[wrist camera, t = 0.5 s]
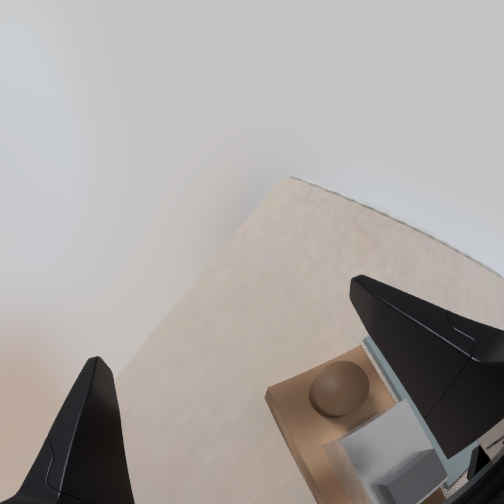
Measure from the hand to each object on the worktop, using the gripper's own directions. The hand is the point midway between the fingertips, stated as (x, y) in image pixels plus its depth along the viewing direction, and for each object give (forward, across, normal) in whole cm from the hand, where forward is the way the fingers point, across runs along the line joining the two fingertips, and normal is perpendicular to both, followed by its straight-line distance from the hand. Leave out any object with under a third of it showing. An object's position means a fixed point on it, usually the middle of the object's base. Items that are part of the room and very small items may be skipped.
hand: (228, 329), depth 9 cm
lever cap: (-4, -6, +14) cm, 16 cm away
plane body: (-4, -6, +18) cm, 19 cm away
